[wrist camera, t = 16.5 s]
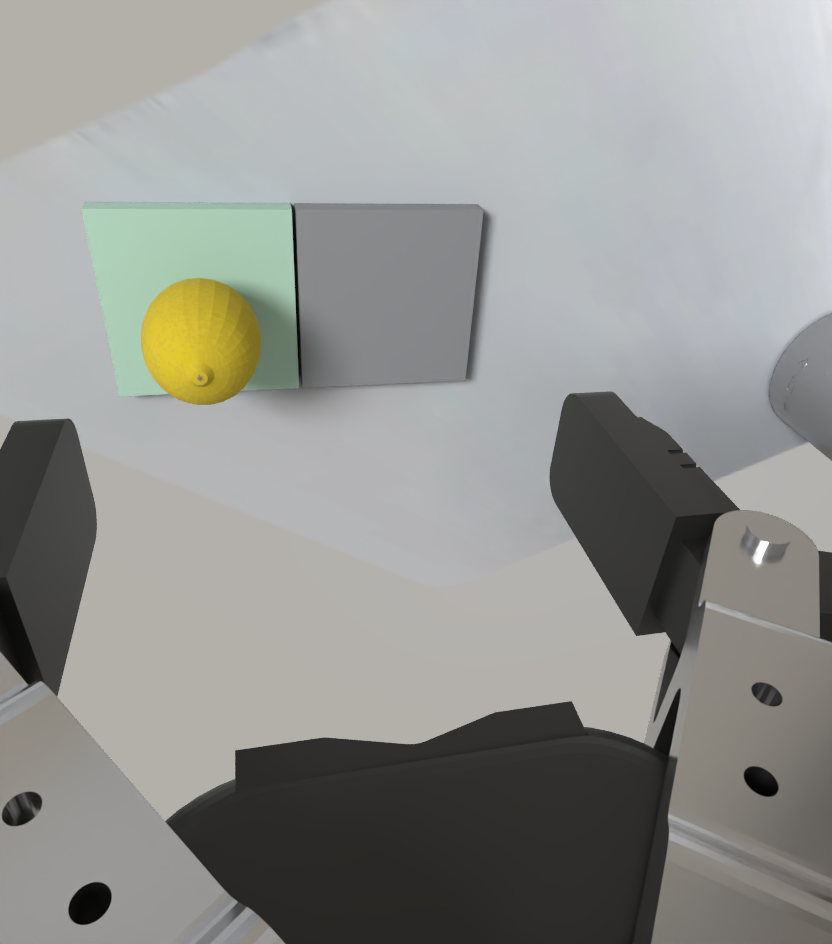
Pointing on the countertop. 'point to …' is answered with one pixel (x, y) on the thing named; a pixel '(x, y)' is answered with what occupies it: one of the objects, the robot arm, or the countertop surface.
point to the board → (300, 284)
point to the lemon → (201, 341)
